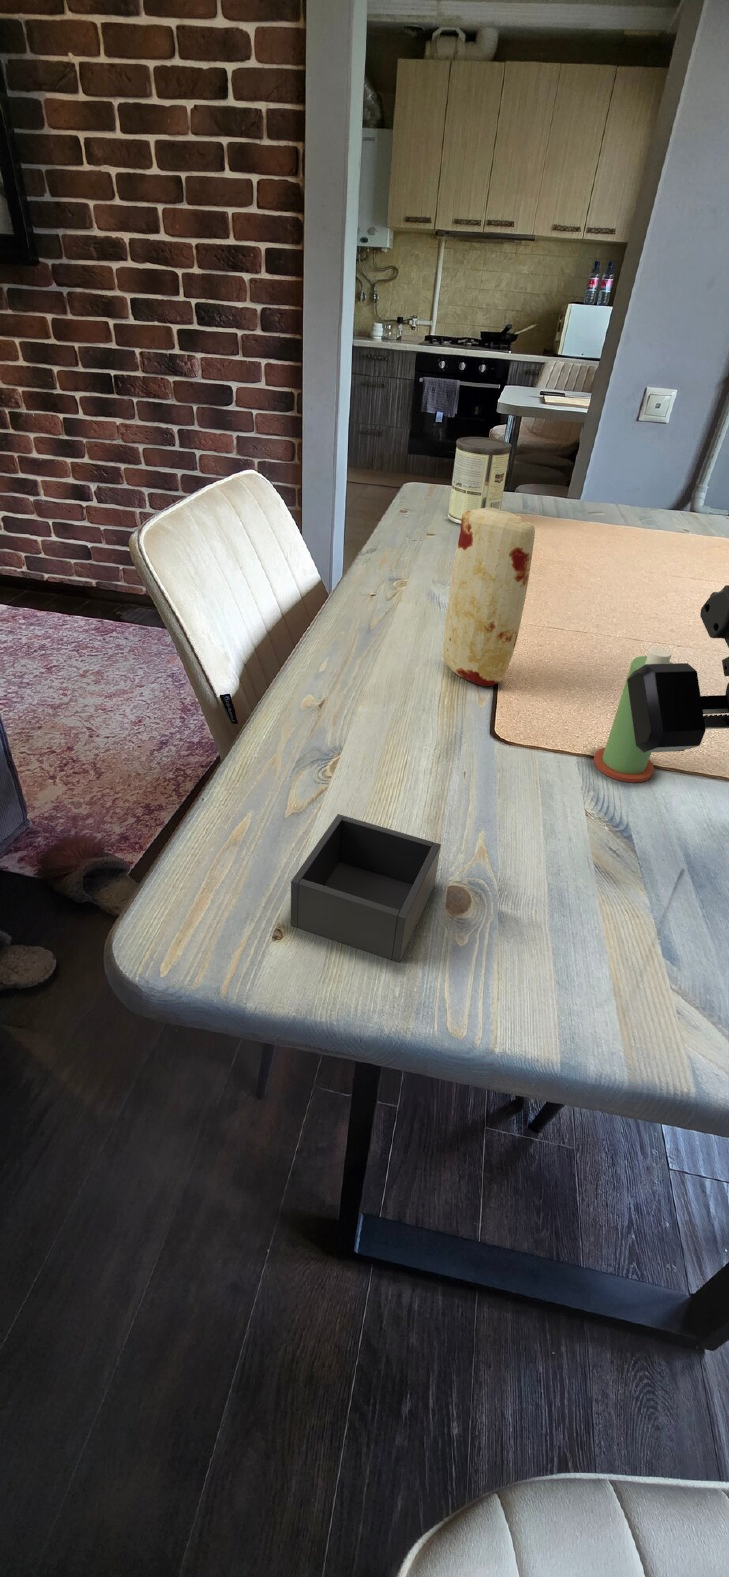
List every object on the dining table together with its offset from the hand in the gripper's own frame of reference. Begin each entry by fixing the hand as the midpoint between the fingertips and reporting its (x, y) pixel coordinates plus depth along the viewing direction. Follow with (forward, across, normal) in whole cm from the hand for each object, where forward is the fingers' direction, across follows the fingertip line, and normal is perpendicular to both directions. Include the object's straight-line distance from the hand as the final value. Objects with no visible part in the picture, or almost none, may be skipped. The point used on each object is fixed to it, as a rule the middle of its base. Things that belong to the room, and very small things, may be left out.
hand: (686, 730), depth 63 cm
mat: (+14, -2, +1) cm, 14 cm away
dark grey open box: (+1, +29, +13) cm, 32 cm away
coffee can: (+74, -11, -60) cm, 96 cm away
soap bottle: (+13, -2, 0) cm, 13 cm away
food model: (+28, +8, -14) cm, 32 cm away
